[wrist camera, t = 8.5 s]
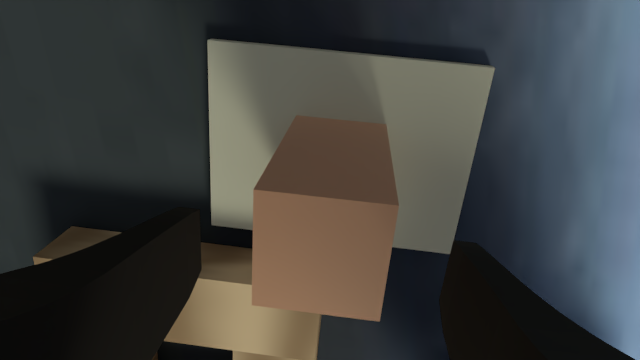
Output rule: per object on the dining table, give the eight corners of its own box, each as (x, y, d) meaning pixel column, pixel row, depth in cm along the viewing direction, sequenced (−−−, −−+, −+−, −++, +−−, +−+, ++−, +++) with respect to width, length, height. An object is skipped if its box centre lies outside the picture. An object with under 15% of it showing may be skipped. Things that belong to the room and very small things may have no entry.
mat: (491, 65, 18) (495, 67, 18) (448, 247, 22) (450, 254, 21) (212, 38, 19) (207, 40, 18) (215, 219, 22) (211, 225, 22)
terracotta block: (386, 124, 19) (399, 205, 12) (374, 205, 21) (379, 321, 13) (296, 115, 19) (253, 189, 12) (291, 195, 21) (251, 305, 14)
